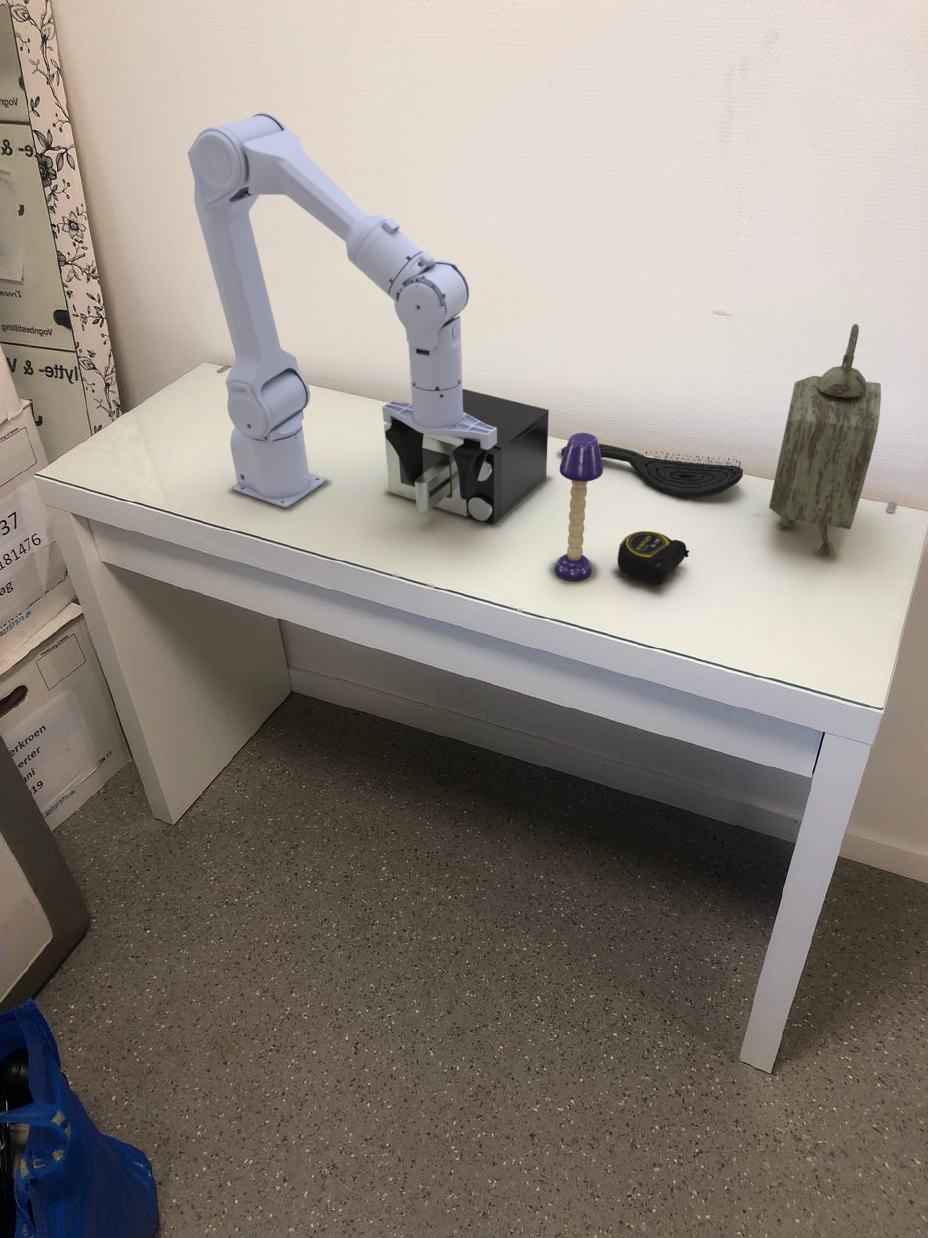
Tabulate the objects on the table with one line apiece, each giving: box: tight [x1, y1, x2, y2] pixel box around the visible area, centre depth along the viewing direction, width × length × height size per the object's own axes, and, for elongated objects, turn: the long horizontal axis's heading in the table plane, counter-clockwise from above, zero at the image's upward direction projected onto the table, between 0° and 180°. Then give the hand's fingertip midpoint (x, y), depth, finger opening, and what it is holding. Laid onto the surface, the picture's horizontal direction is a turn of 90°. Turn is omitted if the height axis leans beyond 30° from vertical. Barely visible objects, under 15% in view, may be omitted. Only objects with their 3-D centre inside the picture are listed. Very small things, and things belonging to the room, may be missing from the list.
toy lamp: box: [554, 432, 604, 581], centre depth 101 cm, size 5×5×17 cm
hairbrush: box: [561, 442, 744, 498], centre depth 123 cm, size 8×4×25 cm
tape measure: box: [617, 530, 690, 586], centre depth 105 cm, size 7×7×4 cm
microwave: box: [462, 388, 550, 525], centre depth 119 cm, size 14×16×10 cm
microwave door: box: [383, 422, 471, 517], centre depth 114 cm, size 7×12×10 cm, turn 57°
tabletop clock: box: [768, 323, 882, 557], centre depth 104 cm, size 14×9×25 cm, turn 160°
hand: (441, 487), depth 110 cm, fingers open, 7 cm apart
